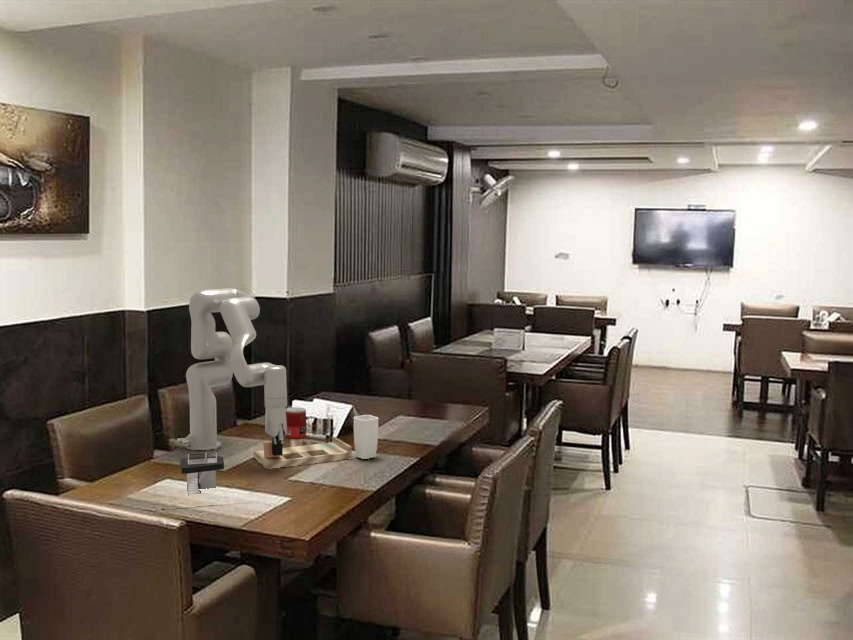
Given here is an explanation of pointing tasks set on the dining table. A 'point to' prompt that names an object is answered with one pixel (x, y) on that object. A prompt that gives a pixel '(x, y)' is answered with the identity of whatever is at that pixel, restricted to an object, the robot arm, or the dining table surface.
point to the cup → (365, 436)
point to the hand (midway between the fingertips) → (277, 454)
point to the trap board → (307, 454)
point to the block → (268, 450)
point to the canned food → (296, 422)
